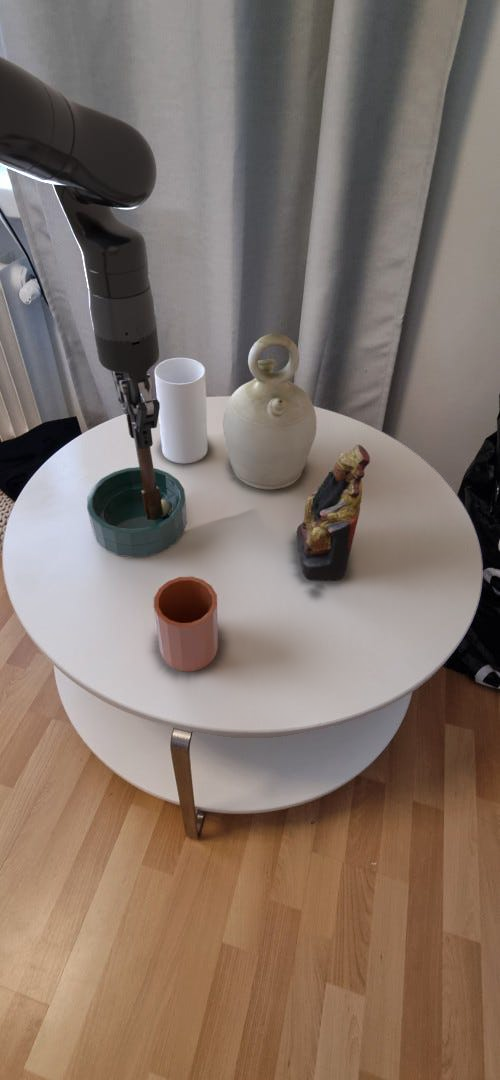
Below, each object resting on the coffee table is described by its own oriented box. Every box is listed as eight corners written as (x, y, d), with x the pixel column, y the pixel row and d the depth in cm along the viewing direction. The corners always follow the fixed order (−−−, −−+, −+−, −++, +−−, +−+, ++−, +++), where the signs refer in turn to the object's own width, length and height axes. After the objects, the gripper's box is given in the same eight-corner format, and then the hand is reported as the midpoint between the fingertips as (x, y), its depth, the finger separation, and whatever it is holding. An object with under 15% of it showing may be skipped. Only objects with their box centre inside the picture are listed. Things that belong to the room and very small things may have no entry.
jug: (231, 436, 109) (232, 306, 91) (313, 446, 108) (331, 316, 90) (215, 490, 99) (212, 356, 81) (306, 502, 98) (324, 368, 80)
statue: (294, 531, 93) (308, 428, 78) (344, 534, 93) (367, 431, 78) (296, 591, 85) (311, 488, 70) (351, 594, 85) (377, 491, 70)
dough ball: (167, 502, 91) (176, 511, 93) (159, 492, 93) (168, 502, 95) (153, 513, 91) (162, 523, 93) (146, 504, 92) (155, 513, 95)
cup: (191, 469, 103) (186, 389, 91) (153, 453, 105) (144, 374, 94) (216, 444, 108) (214, 366, 96) (179, 430, 110) (173, 352, 99)
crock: (173, 680, 74) (168, 636, 67) (151, 635, 79) (144, 589, 72) (227, 657, 77) (227, 612, 70) (203, 615, 81) (201, 568, 74)
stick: (149, 522, 90) (129, 415, 78) (144, 515, 91) (125, 409, 80) (164, 517, 91) (148, 410, 79) (160, 510, 92) (143, 405, 81)
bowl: (110, 573, 86) (104, 545, 82) (82, 510, 95) (75, 482, 90) (201, 541, 91) (200, 513, 87) (166, 485, 100) (163, 457, 95)
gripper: (77, 306, 73) (100, 422, 86) (112, 356, 65) (132, 477, 77) (135, 295, 76) (149, 409, 88) (175, 342, 67) (184, 461, 80)
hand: (141, 440), depth 83 cm, fingers closed on stick, 2 cm apart
